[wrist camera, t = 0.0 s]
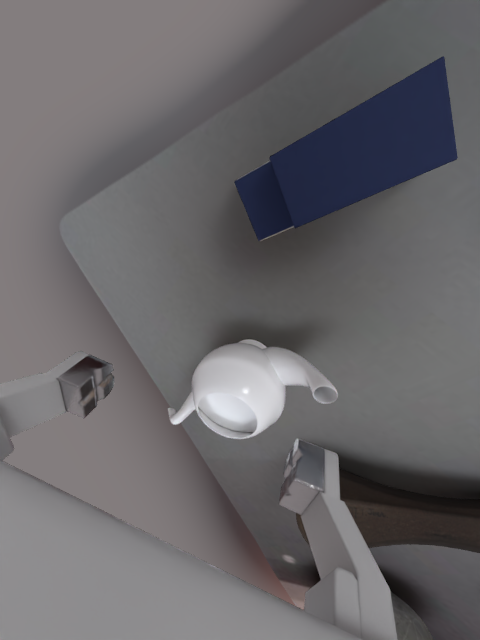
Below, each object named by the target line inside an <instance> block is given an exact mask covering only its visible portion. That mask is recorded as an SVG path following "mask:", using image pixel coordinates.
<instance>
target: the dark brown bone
mask: <svg viewBox="0 0 480 640" xmlns="http://www.w3.org/2000/svg"><path fill="white" fill-rule="evenodd" d="M339 484H340V500H342V501H344V502H345V504H346V506H347V508H348V510H349V512H350V514H351V515H352V517H353V519H354V521H355V523H356V525H357V527H358V529H359V531H360V533H361V535H362V537H363V538H364V540H365V542H366V544H367V546H368V548H372V547H379V546H389V545H401V544H418V545H436V546H444V547H450V548H457V549H462V550H467V551H472V552H477V553H480V499H457V498H446V497H437V496H431V495H424V494H418V493H413V492H409V491H404V490H400V489H396V488H392V487H389V486H385V485H382V484H379V483H375V482H373V481H370V480H367V479H364V478H361V477H359V476H356V475H354V474H352V473H349V472H347V471H344V470H342V469H340V468H339ZM296 519H297V524H298V527H299V529H300V532H301V534H302V535H303V538H304V539H305V541H306V542H307V543H308V544H309V541H308V538H307V535H306V531H305V528H304V525H303V522H302V519H301V515H300V514H298V513H296ZM309 545H310V544H309Z"/></svg>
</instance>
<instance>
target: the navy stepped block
mask: <svg viewBox="0 0 480 640" xmlns="http://www.w3.org/2000/svg"><path fill="white" fill-rule="evenodd" d="M457 158H458V157H457V150H456V142H455V135H454V127H453V120H452V112H451V105H450V97H449V90H448V82H447V75H446V67H445V59H444V57H441V58H439V59H438V60H436V61H434V62H432V63H431V64H429V65H427V66H425V67H424V68H422V69H420V70H419V71H417V72H415V73H413V74H412V75H410V76H408V77H406V78H405V79H403V80H401V81H400V82H398V83H396V84H394V85H393V86H391V87H389V88H387V89H386V90H384V91H382V92H381V93H379V94H377V95H375V96H374V97H372V98H370V99H369V100H367V101H365V102H363V103H362V104H360V105H358V106H356V107H355V108H353V109H351V110H350V111H348V112H346V113H344V114H343V115H341V116H339V117H337V118H336V119H334V120H332V121H331V122H329V123H327V124H325V125H324V126H322V127H320V128H318V129H317V130H315V131H313V132H312V133H310V134H308V135H306V136H305V137H303V138H301V139H299V140H298V141H296V142H294V143H293V144H291V145H289V146H287V147H286V148H284V149H282V150H280V151H279V152H277V153H275V154H274V155H272V156H270V161H269V162H267V163H265V164H263V165H262V166H260V167H258V168H256V169H255V170H253V171H251V172H249V173H248V174H246V175H244V176H242V177H241V178H239V179H237V180H236V181H235V182H234V183H235V185H236V187H237V190H238V192H239V195H240V197H241V200H242V202H243V204H244V207H245V209H246V212H247V214H248V217H249V219H250V221H251V224H252V226H253V229H254V231H255V233H256V236H257V238H258V240H259V241H262V240H265V239H267V238H269V237H272V236H274V235H276V234H279V233H281V232H283V231H286V230H288V229H290V228H292V227H294V228H297V227H299V226H302V225H304V224H306V223H309V222H311V221H313V220H316V219H318V218H320V217H323V216H325V215H327V214H330V213H332V212H334V211H337V210H339V209H342V208H344V207H346V206H349V205H351V204H353V203H356V202H358V201H360V200H363V199H365V198H367V197H370V196H372V195H374V194H377V193H379V192H381V191H384V190H386V189H388V188H391V187H393V186H395V185H398V184H400V183H402V182H405V181H407V180H409V179H412V178H414V177H416V176H419V175H421V174H423V173H426V172H428V171H430V170H433V169H435V168H438V167H440V166H442V165H445V164H447V163H449V162H452V161H454V160H456V159H457Z"/></svg>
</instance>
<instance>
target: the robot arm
mask: <svg viewBox="0 0 480 640" xmlns="http://www.w3.org/2000/svg"><path fill="white" fill-rule="evenodd" d="M113 370H114V369H113V364H110V363H108V362H106V361H104V360H101V359H99V358H97V357H94V356H92V355H90V354H87V353H84V352H82V351H79V352H76V353H74V354H73V355H72V356H70V357H69V358H67V359H66V360H64V361H63V362H61V363H60V364H59V365H57V366H56V367H54V368H53V369H51V370H50V371H48V372H47V373H46V374H43V373H39V374H36V375H32V376H28V377H24V378H20V379H16V380H13V381H9V382H5V383H1V384H0V640H397V633H396V626H395V620H394V613H393V606H392V599H391V592H390V588H389V586H388V584H387V582H386V581H385V579H384V577H383V575H382V573H381V571H380V569H379V567H378V565H377V563H376V561H375V559H374V558H373V556H372V554H371V552H370V550H369V548H368V546H367V544H366V542H365V540H364V538H363V537H362V535H361V533H360V531H359V529H358V527H357V525H356V523H355V521H354V519H353V517H352V515H351V514H350V512H349V510H348V508H347V506H346V504H345V502H344V501H342V500H340V484H339V459H338V455H337V453H334V452H332V451H329V450H327V449H324V448H323V447H320V446H317V445H315V444H312V443H310V442H307V441H304V440H302V439H299V438H298V439H296V441H295V443H294V449H292V450H290V452H289V454H288V457H287V460H286V463H285V467H284V477H285V481H284V483H283V484H282V487H281V493H280V500H279V505H281V506H283V507H285V508H287V509H289V510H291V511H293V512H296V513H298V514H300V515H301V519H302V522H303V525H304V528H305V531H306V535H307V538H308V541H309V544H310V547H311V550H312V553H313V557H314V560H315V563H316V566H317V569H318V572H319V576H320V579H321V581H319V582H318V583H317V584H316V585H314V586H313V587H312V588H311V589H309V590H308V591H307V592H306V593H305V607H304V610H302V609H300V608H298V607H296V606H294V605H292V604H290V603H288V602H286V601H284V600H282V599H280V598H278V597H276V596H274V595H272V594H270V593H268V592H266V591H263V590H262V589H260V588H258V587H256V586H254V585H252V584H250V583H247V582H246V581H244V580H242V579H240V578H237V577H235V576H233V575H231V574H229V573H227V572H225V571H224V570H221V569H219V568H217V567H215V566H213V565H211V564H209V563H207V562H205V561H203V560H201V559H199V558H197V557H195V556H193V555H191V554H189V553H187V552H185V551H183V550H181V549H179V548H177V547H175V546H173V545H171V544H169V543H167V542H165V541H163V540H161V539H159V538H157V537H154V536H153V535H151V534H149V533H147V532H145V531H143V530H141V529H139V528H137V527H135V526H133V525H131V524H128V523H127V522H125V521H122V520H121V519H118V518H117V517H115V516H113V515H111V514H109V513H107V512H105V511H103V510H101V509H99V508H97V507H95V506H92V505H91V504H89V503H87V502H84V501H82V500H80V499H78V498H76V497H74V496H72V495H70V494H68V493H66V492H64V491H62V490H60V489H58V488H56V487H54V486H52V485H50V484H48V483H46V482H44V481H42V480H40V479H38V478H36V477H34V476H32V475H30V474H28V473H26V472H24V471H22V470H20V469H18V468H16V467H14V466H12V465H10V464H8V463H6V462H4V461H3V459H5V458H6V457H7V456H8V455H9V454H10V453H11V452H12V451H13V450H14V446H13V444H12V441H11V439H10V437H12V436H14V435H17V434H19V433H21V432H23V431H25V430H28V429H30V428H32V427H35V426H37V425H39V424H41V423H43V422H46V421H48V420H50V419H52V418H54V417H57V416H59V415H61V414H63V413H65V412H66V411H68V412H70V413H72V414H75V415H77V416H80V417H82V418H85V417H86V416H87V415H88V414H89V413H90V412H91V411H92V410H93V409H94V408H95V407H96V406H97V401H98V400H101V399H104V398H105V397H106V396H107V395H108V394H109V393H110V392H111V390H112V388H113V386H114V377H113V375H112V374H111V372H112V371H113Z"/></svg>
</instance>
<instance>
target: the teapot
mask: <svg viewBox="0 0 480 640" xmlns="http://www.w3.org/2000/svg"><path fill="white" fill-rule="evenodd" d="M292 385H300V386H306V387H309V388H310V389H311V392H312V394H313V397H314V399H315V400H317V401H318V402H320V403H324V404H329V403H332V402H334V401H335V400H336V399H337V395H338V394H337V390H336V388H335V387H334V385H333V384H332V383H331V382H330V381H329V380H328V379H327V378H326V377H325V376H324V375H323V374H322V373H321V372H320V371H319V370H318V369H317V368H315V367H314V366H313V365H312V364H311V363H310V362H308V361H307V360H306V359H305V358H303V357H302V356H300V355H298V354H297V353H295V352H293V351H290V350H288V349H285V348H281V347H268V348H267V347H266V346H265V345H263V344H262V343H260V342H258V341H256V340H251V339H246V340H242V341H240V342H238V343H231V344H227V345H223V346H221V347H218V348H216V349H215V350H213V351H211V352H210V353H208V354H207V355H206V356H205V357H204V358H203V359H202V360H201V361H200V363H199V364H198V366H197V367H196V369H195V371H194V374H193V377H192V391H191V393H190V394H189V396H188V397H187V399H186V400H185V402H184V404H183V405H182V407H181V408H180V410H179V411H178V412H177V413H176V410H175V409H173V408H168V414H169V419H170V422H171V423H172V424H174V425H177V424H179V423H181V422H182V421H183V420H184V419H186V418H187V417H188V416H189V415H190V414H191V413H192V412H193V411H194V410H196V411H197V414H198V416H199V417H200V419H201V420H202V421H203V423H204V424H205V425H206V426H207V427H209V428H210V429H211V430H213V431H214V432H216V433H218V434H220V435H222V436H225V437H228V438H232V439H247V438H251V437H253V436H256V435H258V434H260V433H261V432H263V431H264V430H266V429H267V428H268V427H270V426H271V425H273V424H274V423H275V422H276V421H277V420H278V419H279V417H280V416H281V414H282V412H283V409H284V405H285V400H286V386H292Z"/></svg>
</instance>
